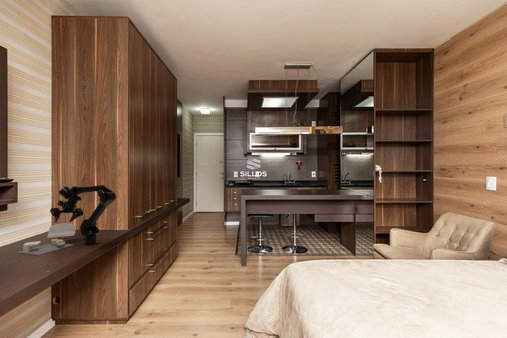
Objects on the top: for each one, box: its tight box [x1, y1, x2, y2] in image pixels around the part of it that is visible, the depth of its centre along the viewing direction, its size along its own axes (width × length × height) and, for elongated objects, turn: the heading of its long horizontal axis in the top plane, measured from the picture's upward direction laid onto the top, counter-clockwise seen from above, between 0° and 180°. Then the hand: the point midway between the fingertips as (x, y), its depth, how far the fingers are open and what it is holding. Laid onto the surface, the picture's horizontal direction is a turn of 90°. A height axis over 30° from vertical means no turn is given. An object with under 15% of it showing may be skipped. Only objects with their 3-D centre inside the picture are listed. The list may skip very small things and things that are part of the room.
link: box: [50, 237, 66, 247], centre depth 170 cm, size 15×4×3 cm, turn 53°
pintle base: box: [16, 239, 75, 257], centre depth 164 cm, size 18×21×5 cm
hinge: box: [47, 222, 76, 239], centre depth 199 cm, size 17×5×10 cm, turn 114°
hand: (62, 222), depth 182 cm, fingers open, 9 cm apart
